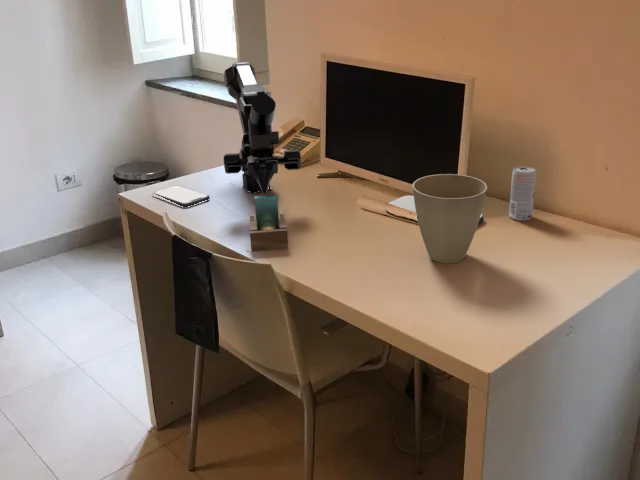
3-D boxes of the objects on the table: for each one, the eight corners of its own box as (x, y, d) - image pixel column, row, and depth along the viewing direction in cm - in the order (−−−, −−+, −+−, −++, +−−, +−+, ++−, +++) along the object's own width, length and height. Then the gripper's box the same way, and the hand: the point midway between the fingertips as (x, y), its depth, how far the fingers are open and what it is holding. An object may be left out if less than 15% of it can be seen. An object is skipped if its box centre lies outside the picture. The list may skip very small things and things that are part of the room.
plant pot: (398, 249, 149) (399, 180, 142) (458, 238, 153) (461, 170, 147) (432, 277, 136) (435, 202, 129) (496, 264, 140) (502, 190, 134)
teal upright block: (257, 233, 160) (254, 196, 156) (279, 231, 160) (277, 194, 156) (258, 247, 152) (254, 208, 149) (281, 245, 153) (278, 206, 149)
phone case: (151, 198, 188) (184, 210, 177) (150, 192, 187) (184, 204, 176) (177, 189, 193) (212, 201, 183) (177, 184, 193) (211, 195, 182)
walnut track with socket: (250, 223, 166) (249, 206, 164) (284, 221, 166) (283, 204, 165) (251, 251, 150) (249, 233, 149) (288, 248, 151) (287, 230, 149)
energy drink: (529, 213, 166) (534, 165, 161) (533, 221, 161) (538, 172, 156) (507, 213, 166) (510, 165, 161) (510, 221, 161) (514, 172, 157)
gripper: (220, 121, 162) (223, 181, 157) (298, 117, 163) (304, 176, 158) (224, 144, 172) (226, 200, 167) (297, 140, 174) (302, 195, 168)
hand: (264, 193), depth 165 cm, fingers closed
